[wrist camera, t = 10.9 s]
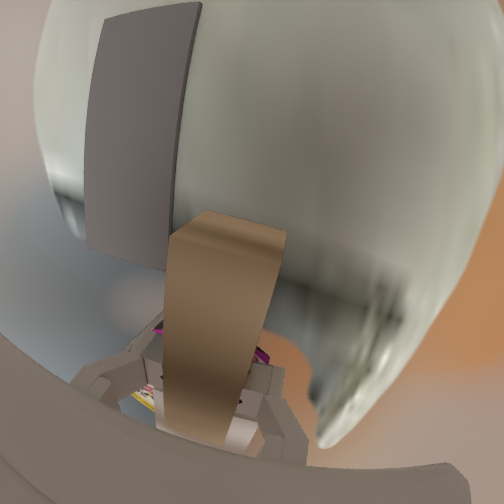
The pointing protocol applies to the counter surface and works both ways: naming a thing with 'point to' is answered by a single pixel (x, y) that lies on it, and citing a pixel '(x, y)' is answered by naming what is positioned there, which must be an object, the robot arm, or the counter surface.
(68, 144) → the counter surface
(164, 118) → the mat
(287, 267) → the counter surface
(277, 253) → the wooden handled scraper
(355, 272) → the counter surface
